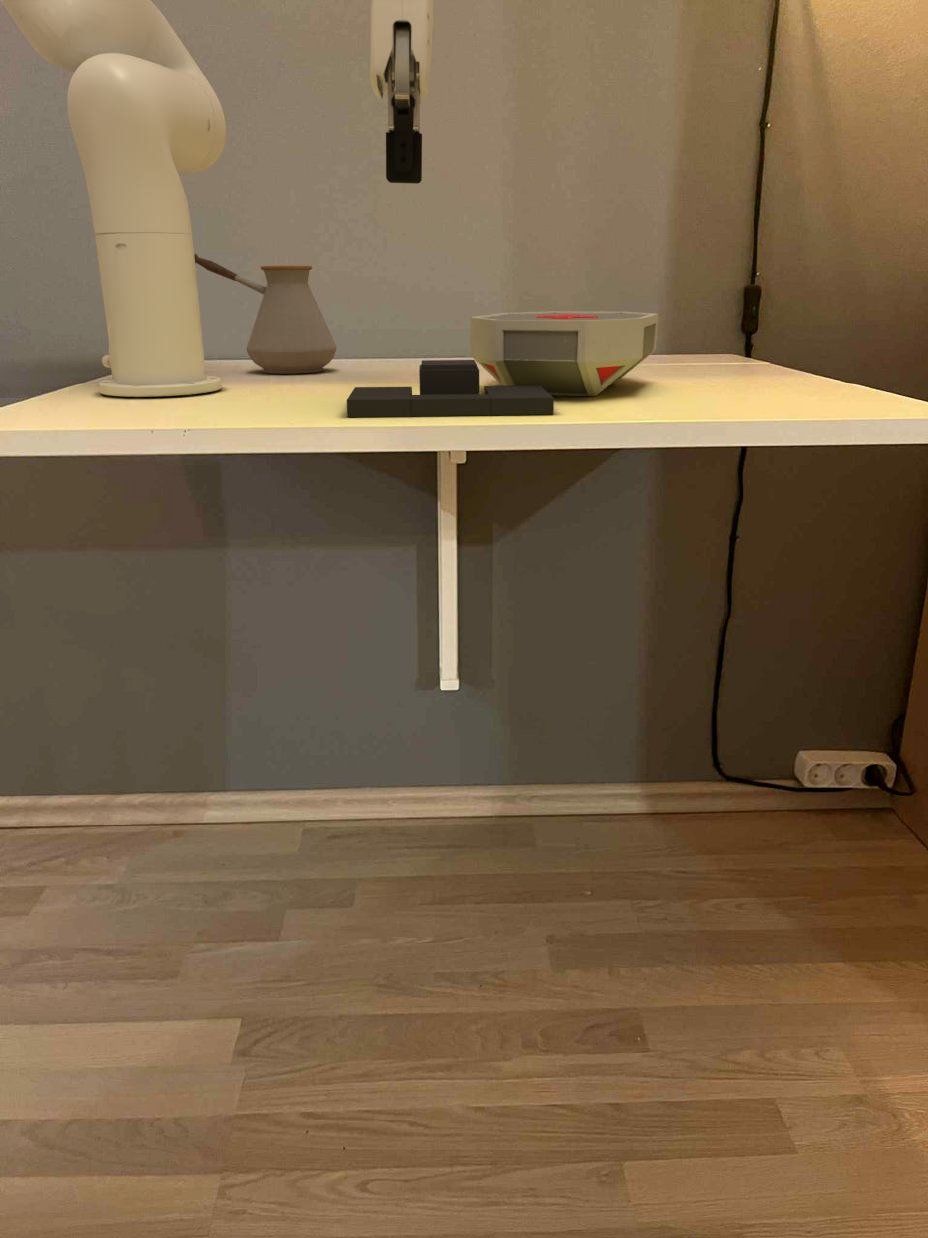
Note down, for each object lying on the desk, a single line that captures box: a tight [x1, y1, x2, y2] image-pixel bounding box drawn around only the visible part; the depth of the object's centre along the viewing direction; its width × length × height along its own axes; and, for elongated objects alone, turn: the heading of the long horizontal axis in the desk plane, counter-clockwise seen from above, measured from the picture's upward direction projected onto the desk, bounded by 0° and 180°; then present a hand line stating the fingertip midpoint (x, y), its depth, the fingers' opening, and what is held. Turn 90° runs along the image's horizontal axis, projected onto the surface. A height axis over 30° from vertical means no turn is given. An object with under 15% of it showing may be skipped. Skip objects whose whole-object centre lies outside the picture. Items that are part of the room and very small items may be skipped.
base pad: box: [346, 385, 555, 418], centre depth 87 cm, size 18×10×2 cm, turn 92°
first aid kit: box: [469, 310, 659, 397], centre depth 101 cm, size 18×8×25 cm
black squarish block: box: [418, 359, 480, 395], centre depth 88 cm, size 5×5×4 cm
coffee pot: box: [194, 253, 338, 375], centre depth 122 cm, size 21×12×15 cm, turn 74°
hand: (404, 181), depth 87 cm, fingers closed
